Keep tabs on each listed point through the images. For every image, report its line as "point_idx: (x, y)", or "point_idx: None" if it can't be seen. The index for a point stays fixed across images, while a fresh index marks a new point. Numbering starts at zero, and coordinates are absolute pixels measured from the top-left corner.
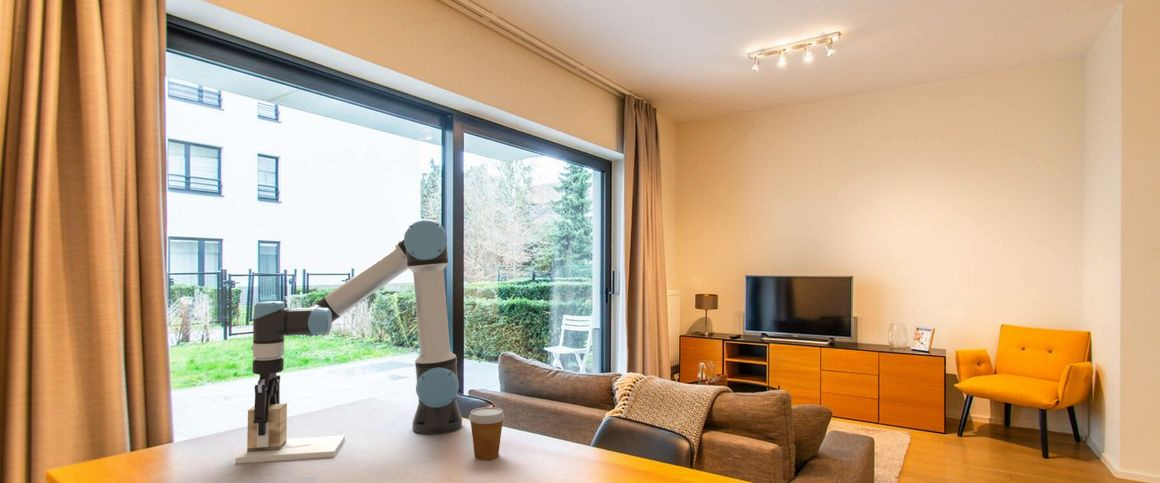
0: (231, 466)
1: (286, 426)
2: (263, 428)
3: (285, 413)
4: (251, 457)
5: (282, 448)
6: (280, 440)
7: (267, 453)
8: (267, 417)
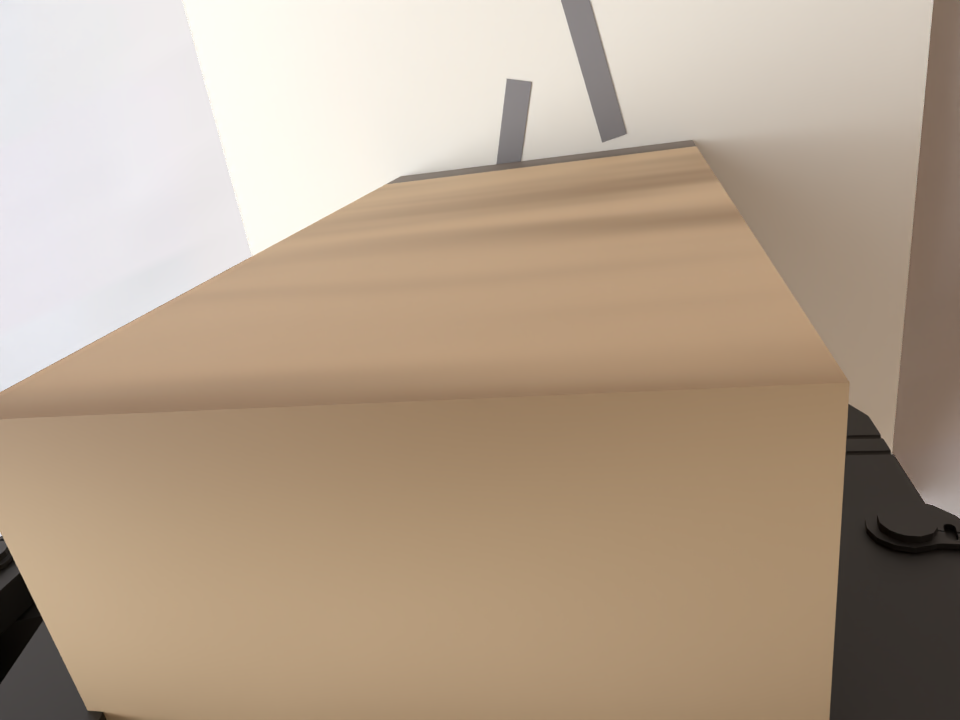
0: (955, 506)
1: (317, 224)
2: (903, 478)
3: (263, 299)
4: (894, 387)
5: (624, 131)
6: (668, 161)
7: (813, 247)
8: (883, 578)
